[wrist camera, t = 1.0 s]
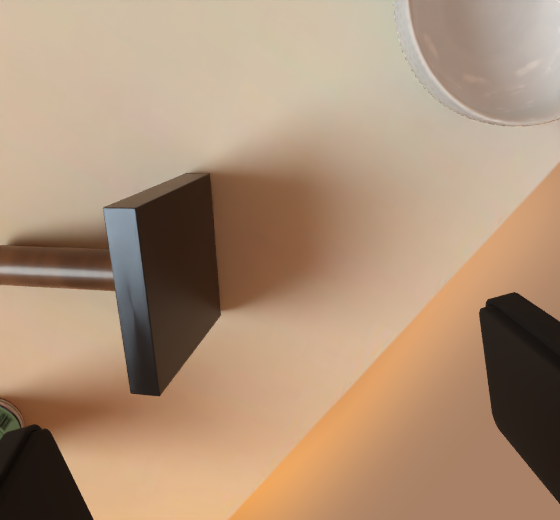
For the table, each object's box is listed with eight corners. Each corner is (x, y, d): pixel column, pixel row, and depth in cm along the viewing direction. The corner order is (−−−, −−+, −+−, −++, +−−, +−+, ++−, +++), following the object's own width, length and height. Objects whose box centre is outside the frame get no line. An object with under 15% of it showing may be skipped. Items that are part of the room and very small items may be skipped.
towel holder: (210, 172, 39) (202, 204, 28) (220, 312, 43) (218, 391, 31) (-25, 183, 37) (-134, 222, 26) (8, 327, 41) (-75, 416, 30)
